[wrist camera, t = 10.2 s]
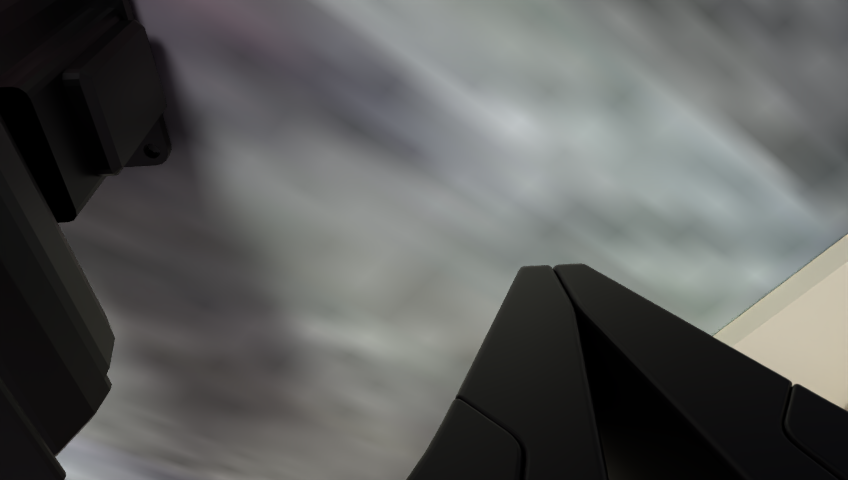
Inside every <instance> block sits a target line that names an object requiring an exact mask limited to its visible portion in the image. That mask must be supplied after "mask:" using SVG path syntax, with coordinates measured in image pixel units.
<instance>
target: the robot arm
mask: <svg viewBox="0 0 848 480" xmlns="http://www.w3.org/2000/svg"><path fill="white" fill-rule="evenodd" d="M166 107H167V104H166V100H165V97H164V93H163V90H162V86H161V83H160V79H159V76H158V72H157V69H156V65H155V62H154V58H153V55H152V52H151V48H150V45H149V41H148V38H147V34H146V31H145V28H144V27H143V26H142V25H141V24H140V23H139V22H138V21H137V20H134V17H133V13H132V10H131V7H130V3H129V0H0V480H64V479H65V477H66V472H65V471H64V469H63V468H62V466H61V465H60V463H59V462H58V461H57V459H56V458H55V457H56V456H57V455H58V454H59V453H60V452H61V451H62V450H63V449H64V448H65V447H66V445H67V444H68V443H69V442H70V441H71V440H72V439H73V438H74V437H75V436H76V435H77V434H78V433H79V432H80V431H81V430H82V428H83V427H84V426H85V425H86V424H87V423H88V422H89V421H90V420H91V419H92V417H93V416H94V415H95V413H96V412H97V410H98V409H99V407H100V405H101V404H102V402H103V401H104V399H105V397H106V396H107V394H108V393H109V391H110V389H111V385H112V384H111V382H110V380H109V378H108V376H107V375H106V374H107V372H108V370H109V368H110V362H111V357H112V351H113V346H114V340H115V338H114V335H113V332H112V330H111V327H110V325H109V322H108V319H107V317H106V315H105V313H104V311H103V309H102V307H101V305H100V303H99V301H98V299H97V298H96V296H95V294H94V292H93V290H92V288H91V286H90V284H89V282H88V280H87V278H86V277H85V275H84V273H83V271H82V269H81V267H80V265H79V263H78V261H77V259H76V257H75V256H74V254H73V252H72V250H71V248H70V246H69V244H68V242H67V240H66V238H65V237H64V235H63V233H62V231H61V229H60V227H59V225H58V223H60V222H70V221H73V220H74V219H75V218H76V216H77V215H78V214H79V212H80V211H81V210H82V208H83V207H84V206H85V204H86V203H87V202H88V200H89V199H90V198H91V196H92V195H93V193H94V192H95V191H96V189H97V188H98V187H99V185H100V184H101V183H102V181H103V180H104V179H105V177H106V176H114V175H118V174H119V173H120V171H121V170H122V169H123V167H134V166H152V165H159V164H162V163H163V162H165V161H166V160H167V158H168V156H169V155H170V153H171V150H172V148H171V142H170V139H169V135H168V132H167V128H166V125H165V122H164V118H163V115H162V113H163V111H164V110H165V108H166ZM148 144H154V145H155V146H157V147H158V148H159V150H160V152H158V153H157V152H153V151H152V150H150V149H149V147H148ZM406 480H848V411H847V410H845V409H843V408H841V407H839V406H837V405H836V404H834V403H832V402H830V401H828V400H826V399H825V398H823V397H821V396H819V395H818V394H816V393H814V392H812V391H810V390H809V389H807V388H805V387H803V386H802V385H800V384H794V385H793V386H792V382H791V381H790V380H789V379H787V378H785V377H783V376H782V375H780V374H778V373H776V372H775V371H773V370H771V369H769V368H767V367H766V366H764V365H762V364H760V363H759V362H757V361H755V360H753V359H752V358H750V357H748V356H746V355H744V354H743V353H741V352H739V351H737V350H736V349H734V348H732V347H730V346H729V345H727V344H725V343H723V342H722V341H720V340H718V339H716V338H714V337H713V336H711V335H709V334H707V333H706V332H704V331H702V330H700V329H699V328H697V327H695V326H693V325H691V324H690V323H688V322H686V321H684V320H683V319H681V318H679V317H677V316H676V315H674V314H672V313H670V312H668V311H667V310H665V309H663V308H661V307H660V306H658V305H656V304H654V303H653V302H651V301H649V300H647V299H645V298H644V297H642V296H640V295H638V294H637V293H635V292H633V291H631V290H630V289H628V288H626V287H624V286H623V285H621V284H619V283H617V282H615V281H614V280H612V279H610V278H608V277H607V276H605V275H603V274H601V273H600V272H598V271H596V270H594V269H592V268H591V267H589V266H587V265H585V264H581V263H580V264H561V265H556V266H555V267H554V268H553V269H552V267H551V266H549V265H541V266H523V267H521V268H520V270H519V271H518V273H517V275H516V277H515V279H514V281H513V283H512V285H511V287H510V289H509V291H508V293H507V295H506V297H505V299H504V301H503V303H502V305H501V307H500V309H499V311H498V313H497V315H496V317H495V319H494V321H493V323H492V325H491V327H490V329H489V331H488V333H487V335H486V337H485V339H484V342H483V344H482V346H481V348H480V350H479V352H478V354H477V356H476V358H475V360H474V362H473V364H472V366H471V368H470V370H469V372H468V374H467V376H466V378H465V380H464V382H463V384H462V386H461V388H460V390H459V392H458V394H457V396H456V398H455V400H454V401H453V402H452V404H451V406H450V408H449V410H448V412H447V414H446V416H445V418H444V420H443V422H442V424H441V425H440V427H439V429H438V431H437V433H436V434H435V436H434V438H433V440H432V441H431V443H430V445H429V447H428V448H427V450H426V452H425V453H424V455H423V456H422V458H421V459H420V460H419V462H418V463H417V465H416V466H415V468H414V469H413V471H412V472H411V474H410V475H409V477H408V478H407V479H406Z"/></svg>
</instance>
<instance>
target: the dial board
mask: <svg viewBox="0 0 848 480" xmlns="http://www.w3.org/2000/svg"><path fill="white" fill-rule="evenodd" d="M713 337H714V338H716V339H718V340H720V341H722V342H723V343H725V344H727V345H729V346H730V347H732V348H734V349H736V350H737V351H739V352H741V353H743V354H744V355H746V356H748V357H750V358H752V359H753V360H755V361H757V362H759V363H760V364H762V365H764V366H766V367H767V368H769V369H771V370H773V371H775V372H776V373H778V374H780V375H782V376H783V377H785V378H787V379H789V380H790V381H791V382H792V386H793V385H794V384H800V385H802V386H803V387H805V388H807V389H809V390H810V391H812V392H814V393H816V394H818V395H819V396H821V397H823V398H825V399H826V400H828V401H830V402H832V403H834V404H836V405H837V406H839V407H841V408H843V409H845V410H847V411H848V234H847V235H846V236H844V237H843V238H842V239H840V240H839V241H838V242H836V243H835V244H834V245H832V246H831V247H830V248H828V249H827V250H826V251H824V252H823V253H822V254H820V255H819V256H818V257H817V258H815V259H814V260H813V261H811V262H810V263H809V264H807V265H806V266H805V267H803V268H802V269H801V270H799V271H798V272H797V273H795V274H794V275H793V276H791V277H790V278H789V279H788V280H786V281H785V282H784V283H782V284H781V285H780V286H778V287H777V288H776V289H774V290H773V291H772V292H770V293H769V294H768V295H766V296H765V297H764V298H762V299H761V300H760V301H759V302H757V303H756V304H755V305H753V306H752V307H751V308H749V309H748V310H747V311H745V312H744V313H743V314H741V315H740V316H739V317H737V318H736V319H735V320H733V321H732V322H731V323H730V324H728V325H727V326H726V327H724V328H723V329H722V330H720V331H719V332H718V333H716V334H715V335H714V336H713Z"/></svg>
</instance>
